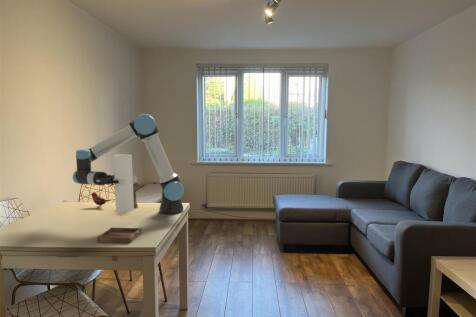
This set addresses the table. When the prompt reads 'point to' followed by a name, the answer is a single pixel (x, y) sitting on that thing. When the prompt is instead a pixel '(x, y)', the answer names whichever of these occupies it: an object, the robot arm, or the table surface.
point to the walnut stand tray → (120, 235)
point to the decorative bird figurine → (98, 199)
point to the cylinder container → (125, 192)
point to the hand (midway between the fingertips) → (130, 180)
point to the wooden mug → (135, 187)
